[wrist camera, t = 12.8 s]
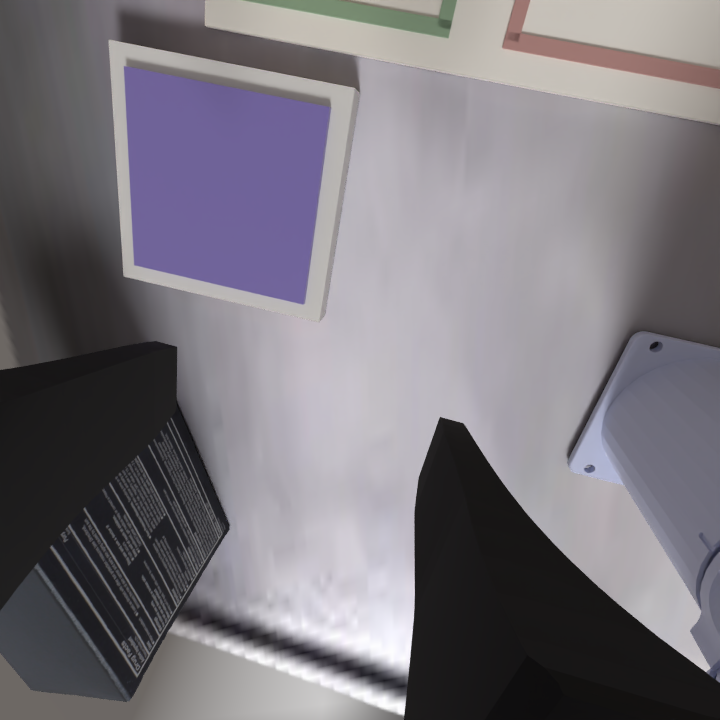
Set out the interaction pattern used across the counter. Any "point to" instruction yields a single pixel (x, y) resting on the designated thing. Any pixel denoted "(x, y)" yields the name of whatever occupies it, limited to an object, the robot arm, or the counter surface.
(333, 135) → the ink pad
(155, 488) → the small box
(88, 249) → the counter surface
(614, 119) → the counter surface
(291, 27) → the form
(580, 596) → the robot arm
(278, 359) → the counter surface
